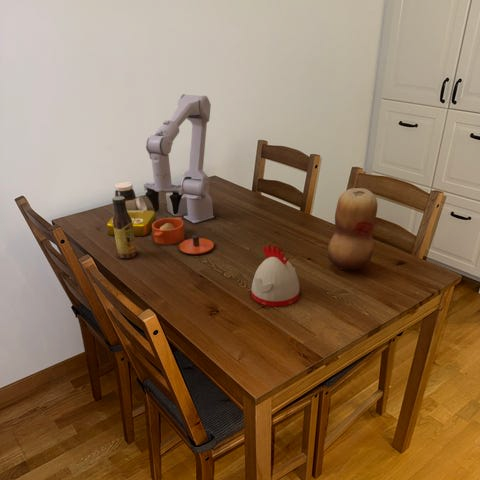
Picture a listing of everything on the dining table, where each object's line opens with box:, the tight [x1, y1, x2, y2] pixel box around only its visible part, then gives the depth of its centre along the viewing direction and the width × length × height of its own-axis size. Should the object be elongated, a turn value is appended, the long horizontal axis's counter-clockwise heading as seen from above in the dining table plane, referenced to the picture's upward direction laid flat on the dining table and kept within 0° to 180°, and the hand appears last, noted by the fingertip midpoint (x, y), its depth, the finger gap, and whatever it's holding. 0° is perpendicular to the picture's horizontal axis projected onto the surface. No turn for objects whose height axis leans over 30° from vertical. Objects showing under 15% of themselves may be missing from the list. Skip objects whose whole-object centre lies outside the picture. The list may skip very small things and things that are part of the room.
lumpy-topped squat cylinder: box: [165, 192, 188, 217], centre depth 192 cm, size 10×13×9 cm
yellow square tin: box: [106, 209, 157, 237], centre depth 179 cm, size 15×15×5 cm
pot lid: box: [178, 234, 215, 255], centre depth 163 cm, size 12×12×4 cm
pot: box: [151, 216, 186, 246], centre depth 170 cm, size 11×17×5 cm
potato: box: [159, 223, 175, 230], centre depth 170 cm, size 7×5×5 cm, turn 157°
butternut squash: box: [327, 187, 378, 272], centre depth 142 cm, size 14×13×25 cm
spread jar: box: [114, 181, 148, 210], centre depth 189 cm, size 12×11×12 cm
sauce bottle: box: [111, 196, 137, 259], centre depth 155 cm, size 7×6×20 cm
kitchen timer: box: [250, 243, 300, 307], centre depth 133 cm, size 14×14×15 cm
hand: (166, 212), depth 166 cm, fingers open, 7 cm apart
